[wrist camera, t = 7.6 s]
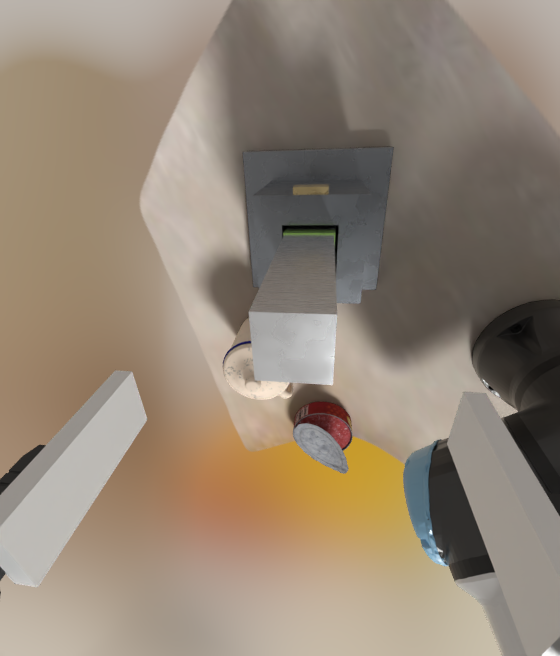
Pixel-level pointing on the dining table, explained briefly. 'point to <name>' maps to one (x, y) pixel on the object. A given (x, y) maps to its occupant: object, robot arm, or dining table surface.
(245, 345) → the teacup with lid
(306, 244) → the post
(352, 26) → the dining table surface
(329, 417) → the canned food
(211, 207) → the dining table surface
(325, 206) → the stand
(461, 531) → the robot arm
